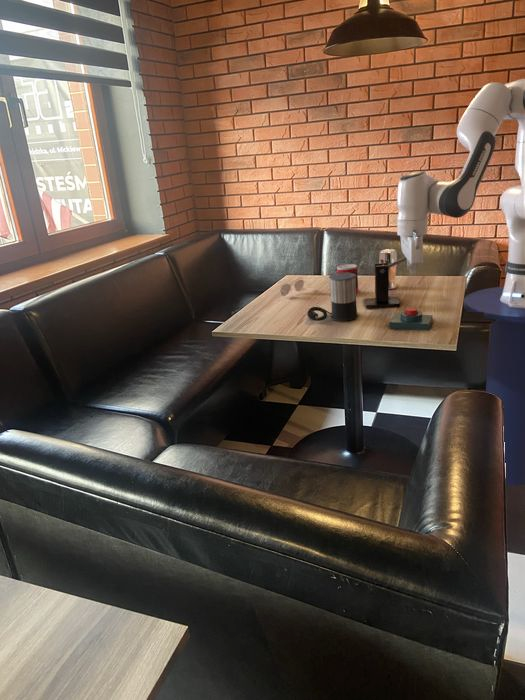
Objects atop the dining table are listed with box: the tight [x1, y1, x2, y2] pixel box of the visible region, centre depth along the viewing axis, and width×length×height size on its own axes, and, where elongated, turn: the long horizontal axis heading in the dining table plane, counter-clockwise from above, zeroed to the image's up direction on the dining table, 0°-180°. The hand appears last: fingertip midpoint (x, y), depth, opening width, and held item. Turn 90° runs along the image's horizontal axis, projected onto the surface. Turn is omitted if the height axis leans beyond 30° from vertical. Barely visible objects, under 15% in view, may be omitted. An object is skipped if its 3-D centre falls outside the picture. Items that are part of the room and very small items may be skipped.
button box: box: [389, 310, 434, 331], centre depth 172 cm, size 12×9×4 cm
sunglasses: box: [279, 279, 318, 300], centre depth 219 cm, size 14×8×5 cm, turn 127°
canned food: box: [336, 263, 359, 295], centre depth 214 cm, size 8×8×11 cm
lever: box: [383, 256, 407, 268], centre depth 191 cm, size 16×5×2 cm, turn 84°
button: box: [405, 307, 418, 315], centre depth 171 cm, size 4×4×2 cm
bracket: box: [364, 262, 401, 309], centre depth 195 cm, size 12×9×15 cm
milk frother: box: [306, 273, 359, 322], centre depth 185 cm, size 14×16×15 cm
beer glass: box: [378, 248, 398, 290], centre depth 215 cm, size 7×7×15 cm
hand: (411, 273), depth 167 cm, fingers closed
